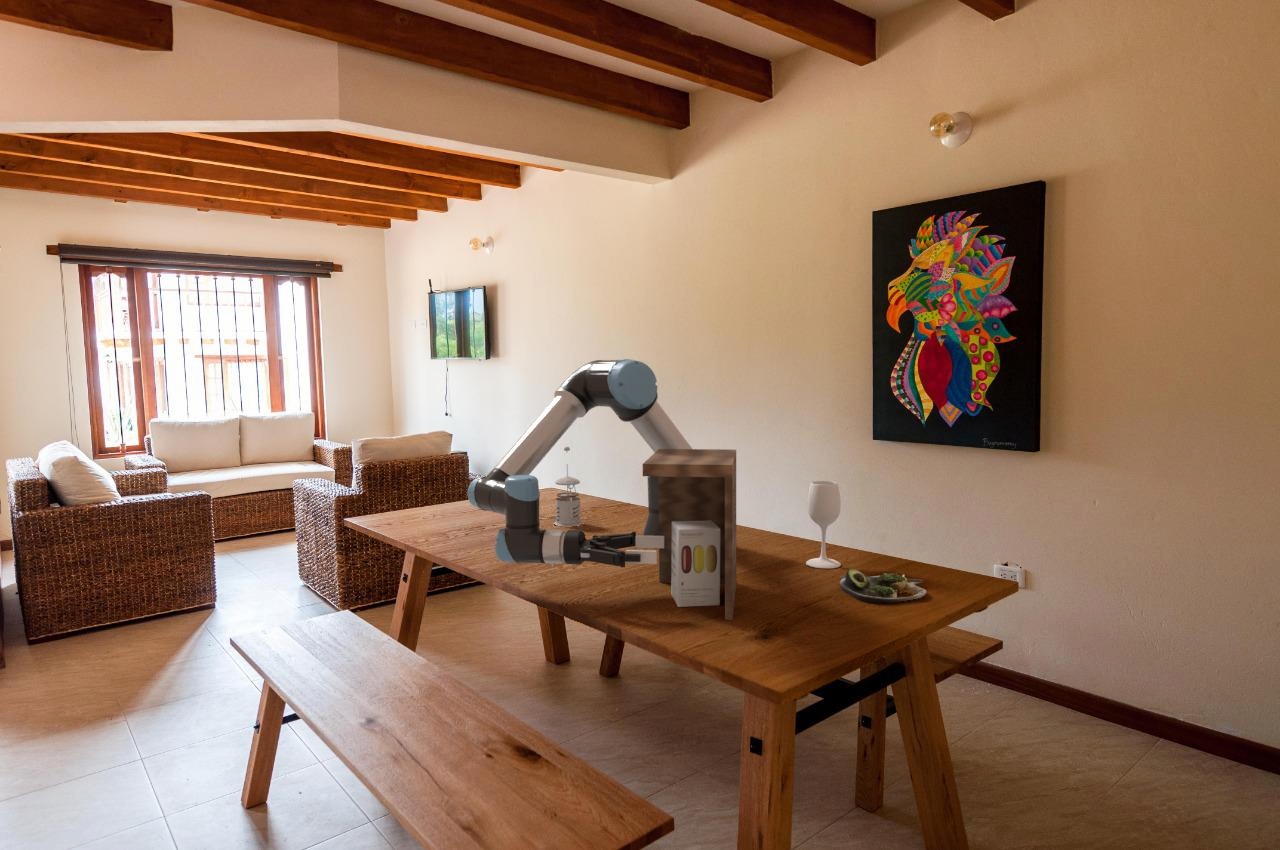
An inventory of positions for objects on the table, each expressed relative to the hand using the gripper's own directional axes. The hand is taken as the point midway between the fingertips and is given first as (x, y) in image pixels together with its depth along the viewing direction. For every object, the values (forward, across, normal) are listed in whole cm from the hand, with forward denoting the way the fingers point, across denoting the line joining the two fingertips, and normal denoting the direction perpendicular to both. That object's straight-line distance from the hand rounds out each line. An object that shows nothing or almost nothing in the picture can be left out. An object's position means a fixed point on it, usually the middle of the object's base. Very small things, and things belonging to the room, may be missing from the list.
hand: (660, 549), depth 170 cm
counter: (+7, -1, -11) cm, 13 cm away
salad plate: (+48, -11, -12) cm, 51 cm away
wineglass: (+38, -33, -11) cm, 51 cm away
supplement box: (+7, 0, -11) cm, 14 cm away
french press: (-39, -75, -11) cm, 85 cm away
